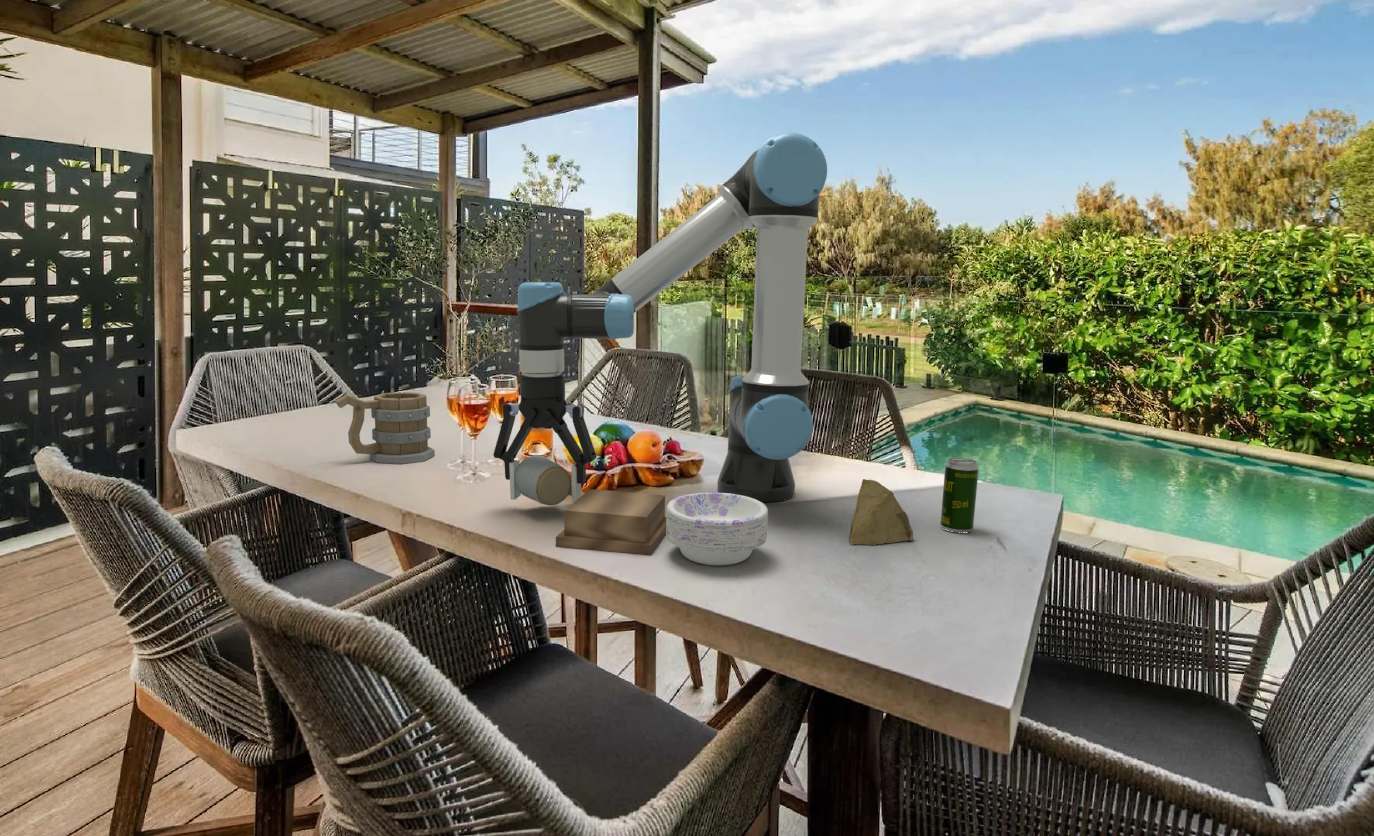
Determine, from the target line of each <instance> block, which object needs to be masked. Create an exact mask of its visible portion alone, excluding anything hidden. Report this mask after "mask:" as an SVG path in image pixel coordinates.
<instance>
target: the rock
mask: <svg viewBox="0 0 1374 836" xmlns="http://www.w3.org/2000/svg"><path fill="white" fill-rule="evenodd" d="M850 525H851V526H850V531H849V537H848V543H849V545H850V544H851V545H850V546H855V544H856V545H865V546H866V545H867V546H874V545H876V544H878V545H885V544H884V543H887V544H892V543H900V542H906V541H913V540H915V538H914V531H913V529H912V525H911V523H910V520H909V516H908V514H907V512H906V511H904V510H903V508H902V507H901V505H900V503H899V501H898V500H897V499H896V496H895V495H894V493H893V491H892V490H890V489H889V488H887V487H885V486H884V485H883V484H881V483H880V482H878V480H877V481H876V480H873V479H865V478H864V479H862V481H861V486H860V489H859V492H858V495H857V500H856V504H855V510H854V513H853V518H852V521H851V524H850Z"/></svg>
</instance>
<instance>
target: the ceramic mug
mask: <svg viewBox="0 0 1374 836" xmlns="http://www.w3.org/2000/svg"><path fill="white" fill-rule="evenodd" d="M515 485H516V488H517V490H518V491H519V492H520V493H521V495H522V496H524V497H526V498H528V499H531V500H533V501H535V502H538V503H539V504H541V505H545V506H555V505H558V504H561V503H562V502H564V501H565V499H567V497H568V496H571V497H572V477H571V475H570V473H569V471H568V470H567V469H565V468H564V467H563V466H562V465H561V464H558V463H557V462H554V461H553V460H551V459H549V458H547V457H545V456H542V455H540V454H534V455H529V456H528V457H525V458H524V459H523V460H521V462H520V464H519V466H518V467H517V469H516V472H515Z"/></svg>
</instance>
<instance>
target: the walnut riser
mask: <svg viewBox="0 0 1374 836" xmlns="http://www.w3.org/2000/svg"><path fill="white" fill-rule="evenodd" d="M563 510H564V511H563V513H564V514H563V515H564V516H563V518H564V520H563V523H564V525H563V527H564V528H563V530H562V531H561V532H559V533H558V534H557V535H556V536H555V546H556V547H560V548H561V547H563V548H573V549H581V550H582V549H583V550H584V549H585V550H595V551H605V552H613V553H614V552H615V553H616V552H617V553H626V554H638V555H639V554H640V555H646V556H647V555H649V556H651V555H652V554H653V553H654V552H655V550H656V548H657V547H658V545H659V544H660V542H662V540H663V539H664V537H665V536H666V519H667V518H666V516H665V515H666V494H656V493H655V494H654V493H644V492H630V491H618V490H604V489H591V488H589V489H588V490H587V491H586V492H585V493H583V494H581V497H580V498H579V499H578V500H576V501H575V502H574V503H571V504H570V505H569V506H568V507H566V508H565V509H563Z"/></svg>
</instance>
